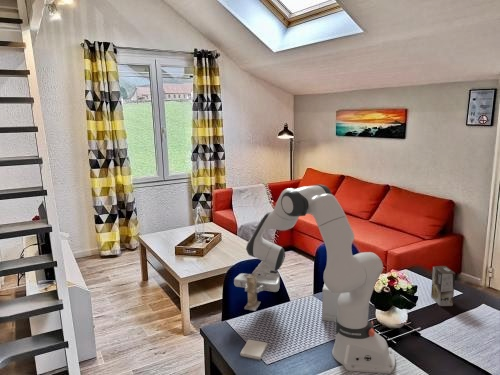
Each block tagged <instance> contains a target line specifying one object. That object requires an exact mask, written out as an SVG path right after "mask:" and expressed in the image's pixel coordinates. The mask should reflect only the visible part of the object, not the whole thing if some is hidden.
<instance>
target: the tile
mask: <svg viewBox="0 0 500 375" xmlns="http://www.w3.org/2000/svg"><path fill="white" fill-rule="evenodd" d="M268 346H269V345H268V342H264V341H259V340H253V339H247V341H246V343H245V345H243V348H242V349H241V351H240V353H239V354H240V356H241V357H245V358H250V359H255V360H259V361H260V360H261V359H262V357H263V355H264V354H263V353H265V352H266V349H267V347H268ZM264 351H265V352H264Z"/></svg>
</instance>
